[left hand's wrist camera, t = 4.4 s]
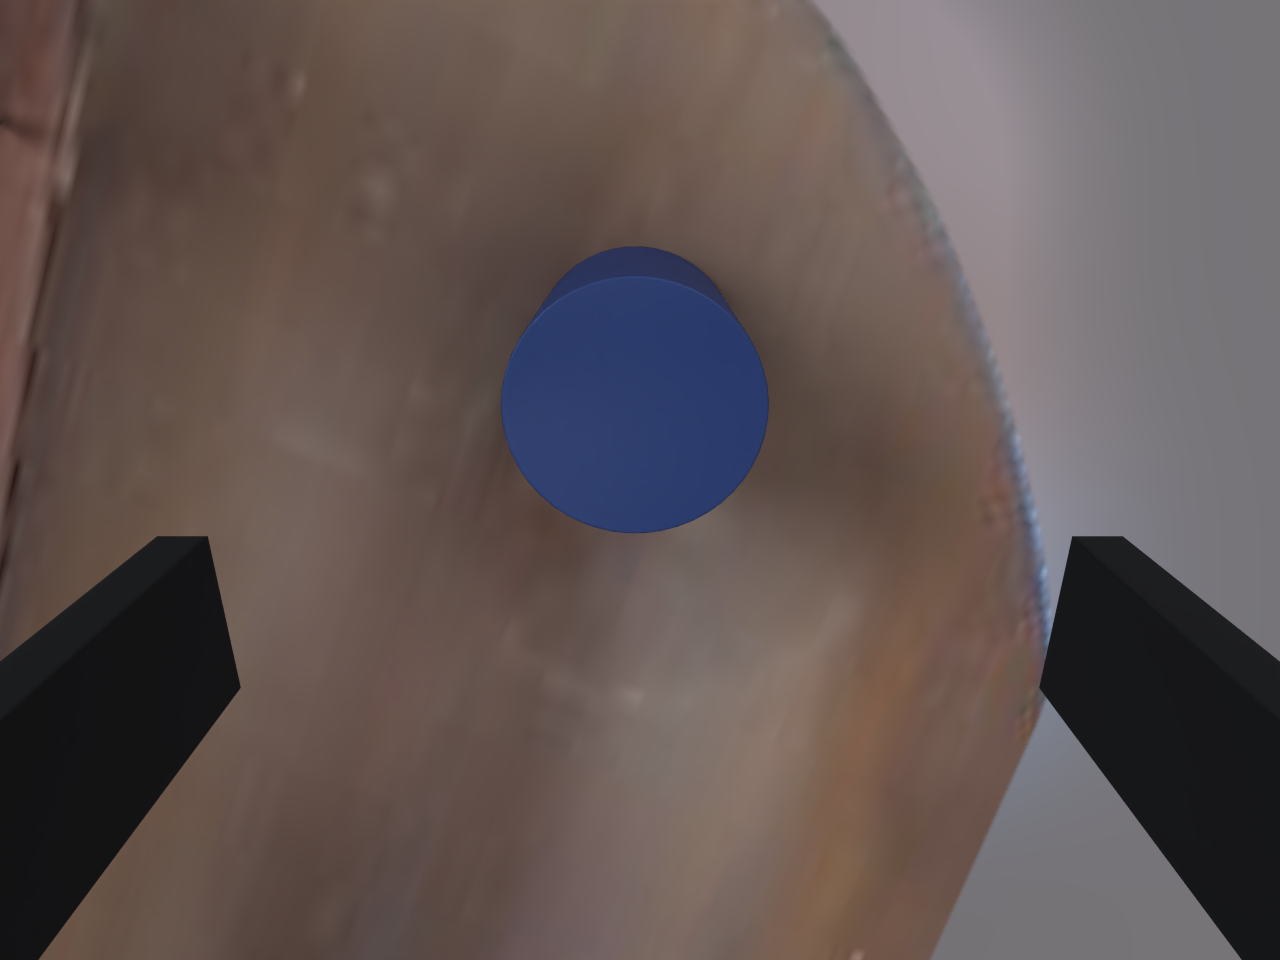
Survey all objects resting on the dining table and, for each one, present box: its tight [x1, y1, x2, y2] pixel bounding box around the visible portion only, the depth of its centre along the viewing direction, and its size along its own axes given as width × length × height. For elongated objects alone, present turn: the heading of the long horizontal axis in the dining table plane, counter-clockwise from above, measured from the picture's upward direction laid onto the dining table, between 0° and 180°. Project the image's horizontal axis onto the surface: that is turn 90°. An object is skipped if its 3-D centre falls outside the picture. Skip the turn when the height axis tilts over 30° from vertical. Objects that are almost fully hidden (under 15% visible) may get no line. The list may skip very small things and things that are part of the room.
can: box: [501, 247, 769, 533], centre depth 28 cm, size 8×8×8 cm
